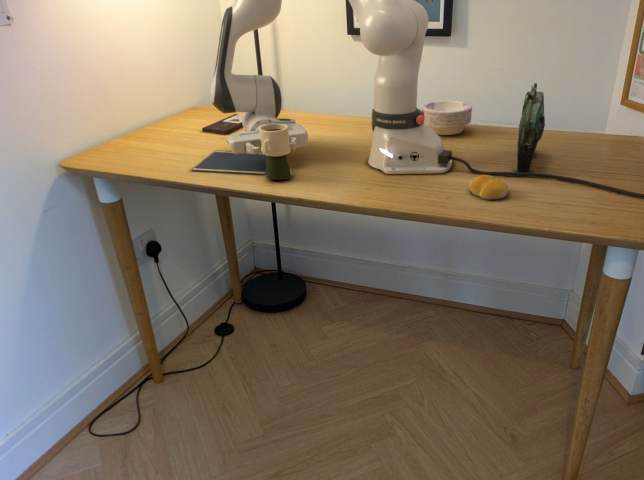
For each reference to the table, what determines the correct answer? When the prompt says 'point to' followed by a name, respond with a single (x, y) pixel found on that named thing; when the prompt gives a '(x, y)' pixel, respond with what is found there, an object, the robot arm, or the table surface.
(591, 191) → the table surface
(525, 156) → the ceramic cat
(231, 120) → the chocolate bar
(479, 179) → the bread roll
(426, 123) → the paper bowls
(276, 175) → the character mug
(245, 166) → the napkin
